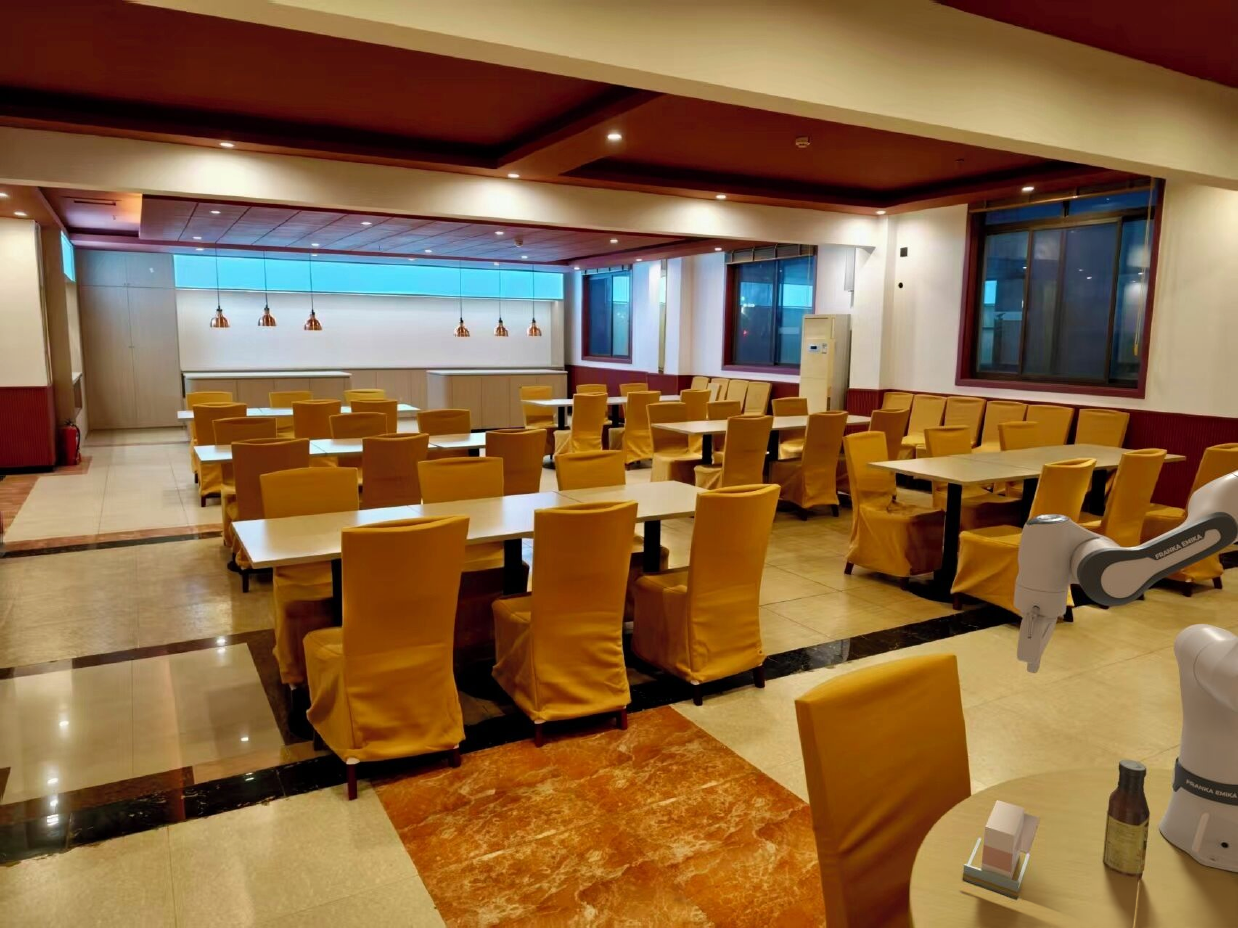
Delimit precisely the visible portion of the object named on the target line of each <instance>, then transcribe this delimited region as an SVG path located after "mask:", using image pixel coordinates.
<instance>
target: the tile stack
mask: <svg viewBox="0 0 1238 928" xmlns="http://www.w3.org/2000/svg"><path fill="white" fill-rule="evenodd" d="M1025 809H1026V808H1025V807H1022V806H1018V805H1015V804H1012V803H1010V802H1009V803H1008V802H1005V801H1001V800H998V799H997V800H996V801H995V804H994V806H993V809H992V810H991V813H990V814H989V817H988V819H987V822H986V824H985V827H984V837H983V838H984V839H983V848H982V859H981V866H980V867H981V868H980V869H982V870H985V871H988V872H991V873H994V874H997V875H1000V876H1003V877H1006V878H1009V879H1011V880H1013V877H1014V874H1015V870H1016V869H1017V865H1018V862H1019V859H1020V857H1021V851H1020V850H1021V840H1022V830H1023V820H1024V813H1025Z"/></svg>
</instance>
